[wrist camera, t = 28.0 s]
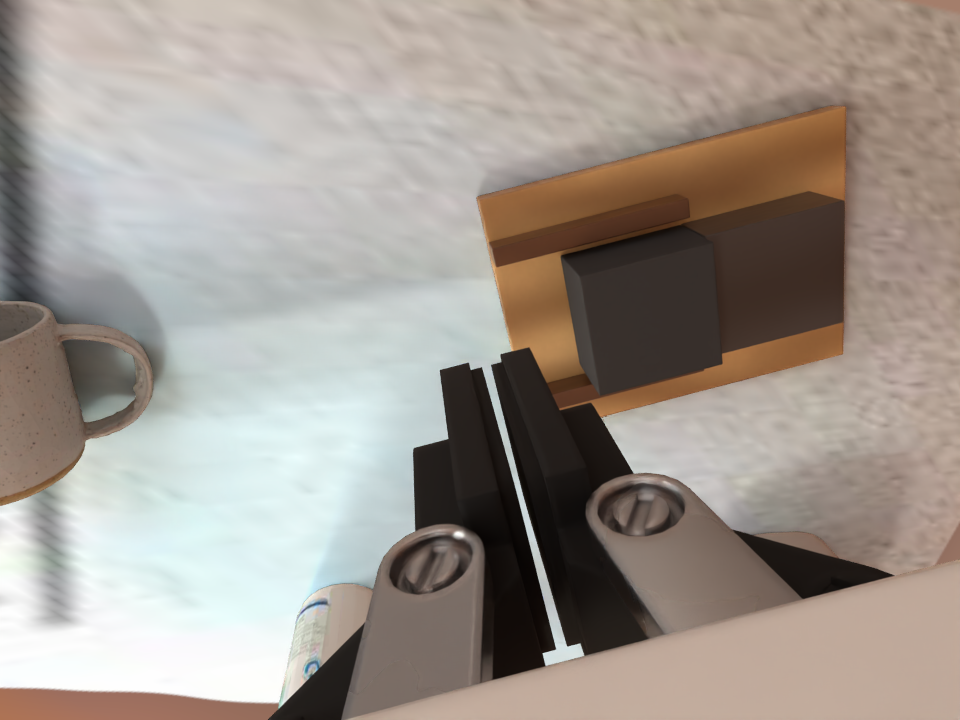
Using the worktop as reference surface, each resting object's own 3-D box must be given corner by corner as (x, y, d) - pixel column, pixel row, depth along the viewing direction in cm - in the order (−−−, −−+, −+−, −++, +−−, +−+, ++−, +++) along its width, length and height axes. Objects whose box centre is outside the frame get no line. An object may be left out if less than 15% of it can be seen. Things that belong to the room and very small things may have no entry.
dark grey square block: (559, 255, 33) (579, 276, 30) (680, 224, 33) (714, 241, 30) (579, 364, 36) (599, 396, 32) (691, 336, 36) (723, 364, 32)
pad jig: (476, 196, 33) (485, 211, 29) (832, 105, 33) (888, 108, 29) (528, 425, 38) (542, 463, 35) (831, 346, 39) (878, 375, 35)
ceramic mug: (-23, 446, 35) (-125, 537, 28) (-83, 305, 32) (-217, 369, 25) (177, 426, 36) (126, 508, 29) (139, 287, 33) (71, 343, 26)
